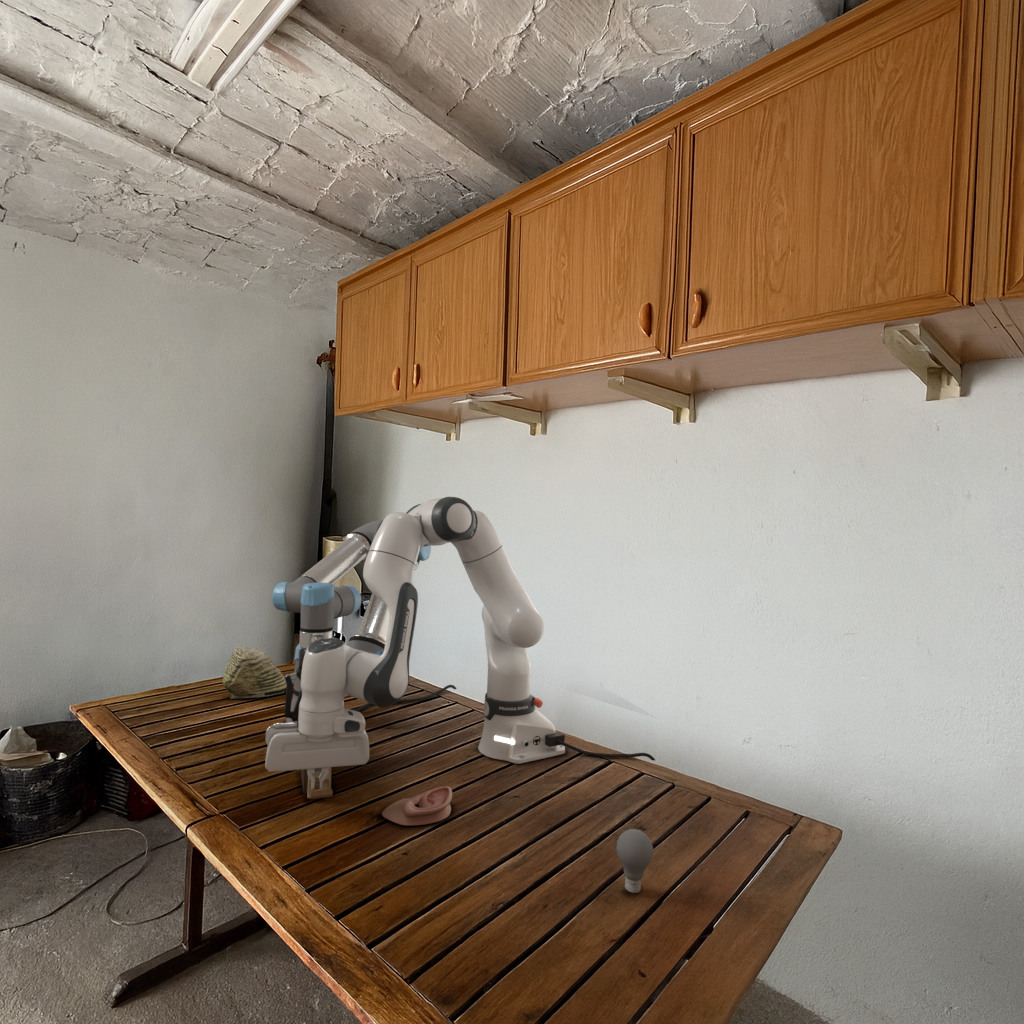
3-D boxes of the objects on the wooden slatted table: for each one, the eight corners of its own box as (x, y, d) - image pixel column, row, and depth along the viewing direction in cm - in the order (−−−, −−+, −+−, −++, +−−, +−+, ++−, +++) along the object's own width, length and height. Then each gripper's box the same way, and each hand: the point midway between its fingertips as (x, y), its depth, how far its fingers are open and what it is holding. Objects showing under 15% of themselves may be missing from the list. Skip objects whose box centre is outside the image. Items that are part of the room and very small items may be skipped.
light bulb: (610, 879, 108) (613, 822, 108) (644, 879, 109) (647, 822, 109) (619, 902, 102) (622, 840, 102) (655, 901, 103) (658, 840, 103)
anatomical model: (375, 801, 124) (398, 776, 135) (375, 821, 124) (397, 795, 136) (440, 811, 122) (457, 785, 133) (439, 831, 122) (456, 803, 133)
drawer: (333, 810, 127) (334, 773, 127) (309, 813, 126) (311, 776, 125) (322, 754, 152) (323, 722, 152) (302, 756, 150) (303, 724, 150)
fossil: (218, 695, 195) (220, 647, 195) (278, 685, 208) (279, 640, 207) (228, 703, 189) (230, 653, 188) (289, 692, 201) (290, 645, 201)
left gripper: (274, 653, 145) (270, 754, 145) (357, 649, 152) (354, 745, 152) (273, 646, 152) (270, 742, 152) (353, 642, 159) (350, 734, 159)
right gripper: (266, 728, 122) (261, 800, 122) (373, 722, 129) (368, 790, 129) (266, 718, 128) (261, 786, 128) (368, 712, 135) (364, 777, 135)
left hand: (312, 743), depth 152 cm, fingers closed on cabinet, 6 cm apart
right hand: (316, 788), depth 129 cm, fingers closed, pressing on drawer
